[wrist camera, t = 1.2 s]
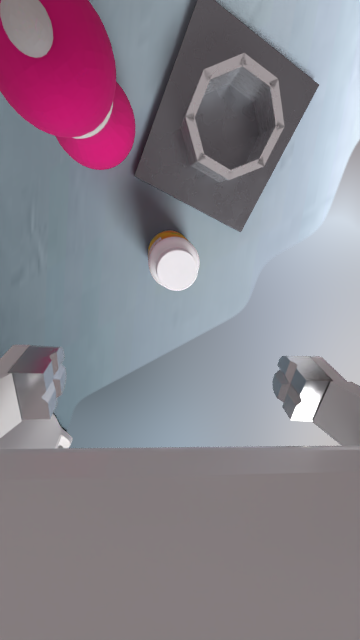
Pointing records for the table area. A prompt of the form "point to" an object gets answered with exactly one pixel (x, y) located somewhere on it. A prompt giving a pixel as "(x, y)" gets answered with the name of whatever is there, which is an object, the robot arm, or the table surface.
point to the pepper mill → (65, 78)
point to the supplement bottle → (173, 260)
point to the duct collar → (223, 117)
